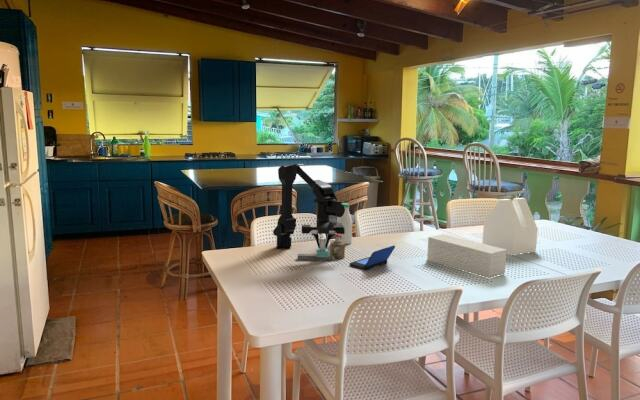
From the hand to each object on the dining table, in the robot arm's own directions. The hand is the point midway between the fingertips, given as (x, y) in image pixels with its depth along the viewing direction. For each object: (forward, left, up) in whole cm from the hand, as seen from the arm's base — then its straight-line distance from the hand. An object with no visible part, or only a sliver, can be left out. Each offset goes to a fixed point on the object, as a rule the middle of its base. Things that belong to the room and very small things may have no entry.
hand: (322, 248), depth 219 cm
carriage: (0, 0, -3) cm, 3 cm away
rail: (-3, 0, -5) cm, 6 cm away
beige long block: (+60, -10, -6) cm, 62 cm away
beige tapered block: (+92, +20, -5) cm, 94 cm away
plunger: (+7, +7, +1) cm, 10 cm away
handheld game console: (+21, -9, -6) cm, 23 cm away
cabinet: (+7, +7, -5) cm, 11 cm away
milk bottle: (+12, +30, -5) cm, 33 cm away
